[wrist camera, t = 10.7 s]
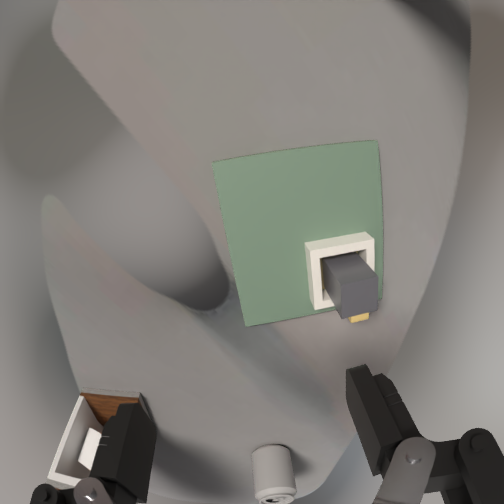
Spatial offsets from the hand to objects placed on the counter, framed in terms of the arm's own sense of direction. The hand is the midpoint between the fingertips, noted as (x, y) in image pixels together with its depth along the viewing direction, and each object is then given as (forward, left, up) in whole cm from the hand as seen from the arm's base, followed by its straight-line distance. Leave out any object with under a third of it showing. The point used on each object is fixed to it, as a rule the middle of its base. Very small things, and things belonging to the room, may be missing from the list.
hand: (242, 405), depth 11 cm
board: (+4, +8, -25) cm, 27 cm away
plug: (+8, +11, -24) cm, 28 cm away
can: (+47, -2, -26) cm, 53 cm away
